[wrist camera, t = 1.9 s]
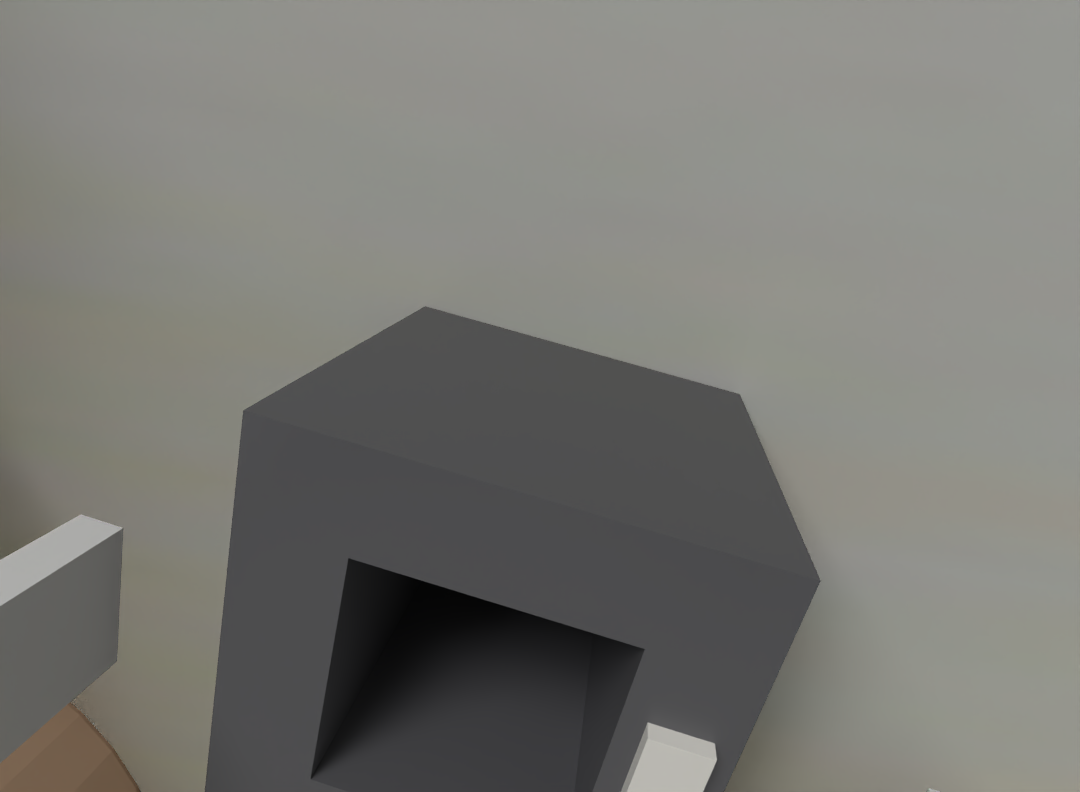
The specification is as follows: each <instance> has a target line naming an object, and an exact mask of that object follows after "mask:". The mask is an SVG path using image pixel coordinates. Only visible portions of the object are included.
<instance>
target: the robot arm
mask: <svg viewBox="0 0 1080 792" xmlns="http://www.w3.org/2000/svg"><path fill="white" fill-rule="evenodd" d="M122 542H123V528H122V527H118V526H115V525H112V524H109V523H106V522H103V521H100V520H97V519H94V518H91V517H87V516H84V515H79V516H77V517H75V518H73V519H72V520H70V521H68V522H66V523H65V524H63V525H61V526H59V527H58V528H56V529H54V530H52V531H50V532H49V533H47V534H45V535H43V536H42V537H40V538H38V539H36V540H34V541H33V542H31V543H29V544H27V545H26V546H24V547H22V548H20V549H19V550H17V551H15V552H13V553H11V554H10V555H8V556H6V557H4V558H3V559H1V560H0V763H1V762H2V761H3V760H5V759H6V758H7V757H8V756H9V755H10V754H11V753H13V752H14V751H15V750H16V749H17V748H18V747H19V746H21V745H22V744H23V743H24V742H25V741H26V740H27V739H29V738H30V737H31V736H32V735H33V734H34V733H35V732H37V731H38V730H39V729H40V728H41V727H42V726H43V725H45V724H46V723H47V722H48V721H49V720H50V719H51V718H53V717H54V716H55V715H56V714H57V713H58V712H59V711H61V710H62V709H63V708H64V707H65V706H66V705H67V704H69V703H70V702H71V701H72V700H73V699H74V698H75V697H77V696H78V695H79V694H80V693H81V692H82V691H83V690H85V689H86V688H87V687H88V686H89V685H90V684H91V683H93V682H94V681H95V680H96V679H97V678H98V677H99V676H101V675H102V674H103V673H104V672H105V671H106V670H107V669H109V668H110V667H111V666H112V665H113V664H114V663H115V662H116V661H117V649H118V628H119V606H120V585H121V564H122ZM926 792H939V791H936V790H933V789H930V788H928V790H927V791H926Z"/></svg>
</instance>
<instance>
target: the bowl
mask: <svg viewBox="0 0 1080 792" xmlns="http://www.w3.org/2000/svg"><path fill="white" fill-rule="evenodd" d="M0 792H140V790H139V788H138V786H137V784H136V783H135V781H134V779H133V778H132V776H131V775H130V773H129V772H128V770H127V769H126V767H125V766H124V764H123V762H122V761H121V759H120V758H119V756H118V755H117V753H116V752H115V750H114V749H113V747H112V746H111V745H110V744H109V743H108V742H107V741H106V740H105V738H104V737H103V736H102V735H101V734H100V733H99V732H98V730H97V729H96V728H95V727H94V726H93V725H92V724H91V723H90V721H89V720H88V719H87V718H86V717H85V716H84V715H83V713H81V712H80V711H79V710H78V709H77V708H76V707H75V706H73V705H72V704H71V703H69V704H67V705H66V706H65V707H64V708H63V709H62V710H61V711H59V712H58V713H57V714H56V715H55V716H54V717H53V718H51V719H50V720H49V721H48V722H47V723H46V724H45V725H43V726H42V727H41V728H40V729H39V730H38V731H37V732H35V733H34V734H33V735H32V736H31V737H30V738H29V739H27V740H26V741H25V742H24V743H23V744H22V745H21V746H19V747H18V748H17V749H16V750H15V751H14V752H13V753H11V754H10V755H9V756H8V757H7V758H6V759H5V760H3V761H2V762H1V763H0Z"/></svg>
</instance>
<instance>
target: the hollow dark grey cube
mask: <svg viewBox="0 0 1080 792" xmlns="http://www.w3.org/2000/svg"><path fill="white" fill-rule="evenodd" d="M819 583H820V578H819V576H818V574H817V572H816V569H815V567H814V565H813V562H812V560H811V558H810V555H809V553H808V551H807V548H806V546H805V544H804V542H803V539H802V537H801V535H800V532H799V530H798V528H797V525H796V523H795V521H794V518H793V516H792V514H791V512H790V509H789V507H788V505H787V502H786V500H785V498H784V495H783V493H782V491H781V488H780V486H779V484H778V482H777V479H776V477H775V475H774V472H773V470H772V468H771V465H770V463H769V461H768V458H767V456H766V454H765V452H764V449H763V447H762V445H761V442H760V440H759V438H758V435H757V433H756V431H755V428H754V426H753V424H752V422H751V419H750V417H749V415H748V412H747V410H746V408H745V405H744V403H743V401H742V398H741V396H740V394H737V393H733V392H729V391H726V390H722V389H719V388H715V387H712V386H708V385H704V384H701V383H697V382H694V381H690V380H686V379H683V378H679V377H676V376H672V375H669V374H665V373H661V372H658V371H654V370H651V369H647V368H644V367H640V366H636V365H633V364H629V363H626V362H622V361H618V360H615V359H611V358H608V357H604V356H601V355H597V354H593V353H590V352H586V351H583V350H579V349H575V348H572V347H568V346H565V345H561V344H558V343H554V342H550V341H547V340H543V339H540V338H536V337H532V336H529V335H525V334H522V333H518V332H515V331H511V330H507V329H504V328H500V327H497V326H493V325H489V324H486V323H482V322H479V321H475V320H472V319H468V318H464V317H461V316H457V315H454V314H450V313H446V312H443V311H439V310H436V309H432V308H429V307H423V308H422V309H420V310H418V311H416V312H415V313H413V314H411V315H409V316H408V317H406V318H404V319H402V320H401V321H399V322H397V323H395V324H394V325H392V326H390V327H388V328H387V329H385V330H383V331H381V332H380V333H378V334H376V335H374V336H373V337H371V338H369V339H367V340H366V341H364V342H362V343H360V344H359V345H357V346H355V347H353V348H352V349H350V350H348V351H346V352H345V353H343V354H341V355H339V356H338V357H336V358H334V359H332V360H331V361H329V362H327V363H325V364H324V365H322V366H320V367H318V368H317V369H315V370H313V371H311V372H310V373H308V374H306V375H304V376H303V377H301V378H299V379H297V380H296V381H294V382H292V383H290V384H289V385H287V386H285V387H283V388H282V389H280V390H278V391H276V392H275V393H273V394H271V395H269V396H268V397H266V398H264V399H262V400H261V401H259V402H257V403H255V404H254V405H252V406H250V407H248V408H247V409H245V410H243V419H242V429H241V439H240V449H239V459H238V468H237V478H236V488H235V498H234V508H233V518H232V528H231V538H230V548H229V558H228V568H227V578H226V588H225V597H224V607H223V617H222V627H221V637H220V647H219V657H218V667H217V677H216V687H215V697H214V707H213V717H212V726H211V736H210V746H209V756H208V766H207V776H206V786H205V792H724V790H725V788H726V786H727V784H728V782H729V779H730V777H731V775H732V773H733V771H734V768H735V766H736V764H737V762H738V760H739V758H740V755H741V753H742V751H743V749H744V747H745V744H746V742H747V740H748V738H749V736H750V734H751V731H752V729H753V727H754V725H755V723H756V720H757V718H758V716H759V714H760V712H761V710H762V707H763V705H764V703H765V701H766V699H767V696H768V694H769V692H770V690H771V688H772V686H773V683H774V681H775V679H776V677H777V675H778V672H779V670H780V668H781V666H782V664H783V662H784V659H785V657H786V655H787V653H788V651H789V648H790V646H791V644H792V642H793V640H794V637H795V635H796V633H797V631H798V629H799V627H800V624H801V622H802V620H803V618H804V616H805V613H806V611H807V609H808V607H809V605H810V603H811V600H812V598H813V596H814V594H815V592H816V589H817V587H818V585H819Z"/></svg>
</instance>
